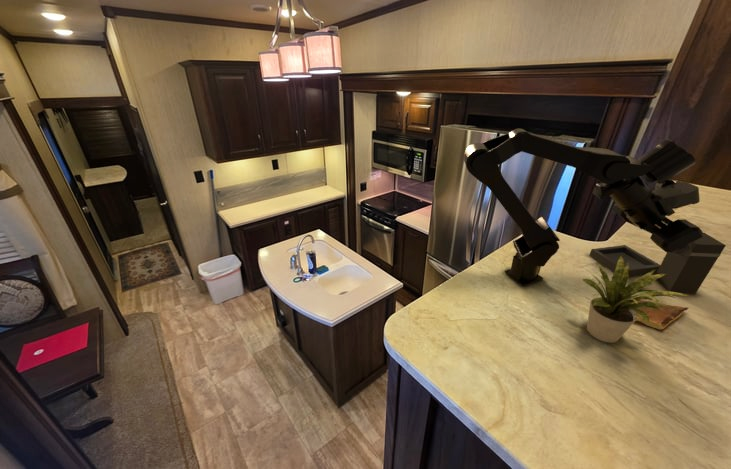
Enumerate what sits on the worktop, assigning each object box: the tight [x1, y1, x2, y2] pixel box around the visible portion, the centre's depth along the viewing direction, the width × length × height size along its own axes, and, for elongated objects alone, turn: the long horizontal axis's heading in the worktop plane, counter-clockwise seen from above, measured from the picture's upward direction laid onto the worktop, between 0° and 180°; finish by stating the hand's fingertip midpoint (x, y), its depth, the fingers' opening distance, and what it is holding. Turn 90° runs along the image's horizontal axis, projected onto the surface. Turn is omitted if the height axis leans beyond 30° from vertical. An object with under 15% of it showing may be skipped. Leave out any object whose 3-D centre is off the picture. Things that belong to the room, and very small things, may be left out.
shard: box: [634, 299, 689, 331], centre depth 59 cm, size 11×8×2 cm
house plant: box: [581, 256, 690, 343], centre depth 53 cm, size 14×14×16 cm
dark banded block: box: [655, 232, 726, 295], centre depth 65 cm, size 5×6×13 cm
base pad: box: [589, 244, 661, 278], centre depth 76 cm, size 10×10×2 cm
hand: (672, 244), depth 64 cm, fingers open, 9 cm apart
